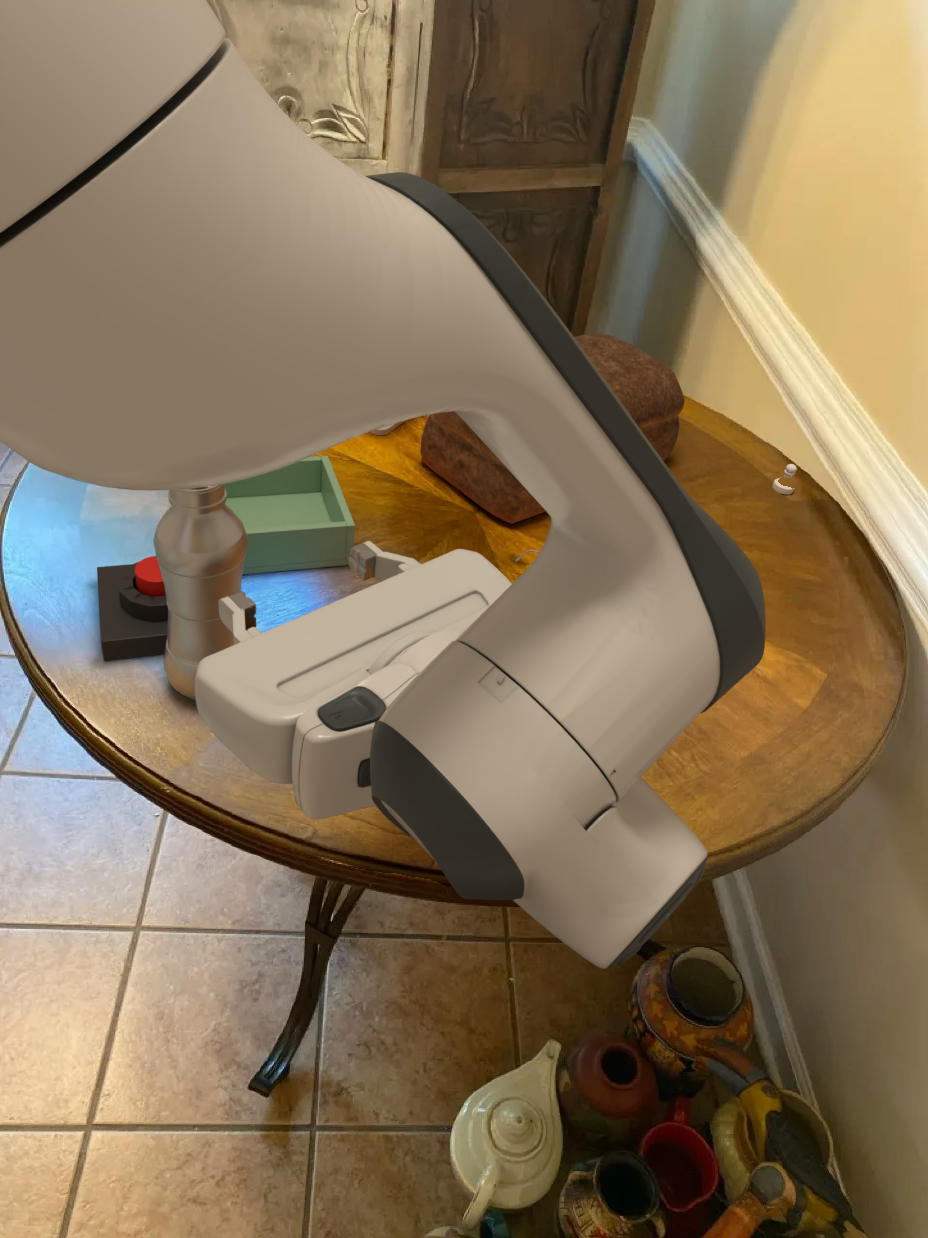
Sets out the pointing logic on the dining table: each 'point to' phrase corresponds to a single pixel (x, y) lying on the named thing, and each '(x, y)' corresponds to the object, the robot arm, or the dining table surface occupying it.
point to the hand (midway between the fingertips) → (296, 576)
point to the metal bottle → (197, 577)
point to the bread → (486, 478)
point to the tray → (293, 517)
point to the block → (129, 615)
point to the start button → (149, 577)
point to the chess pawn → (789, 472)
